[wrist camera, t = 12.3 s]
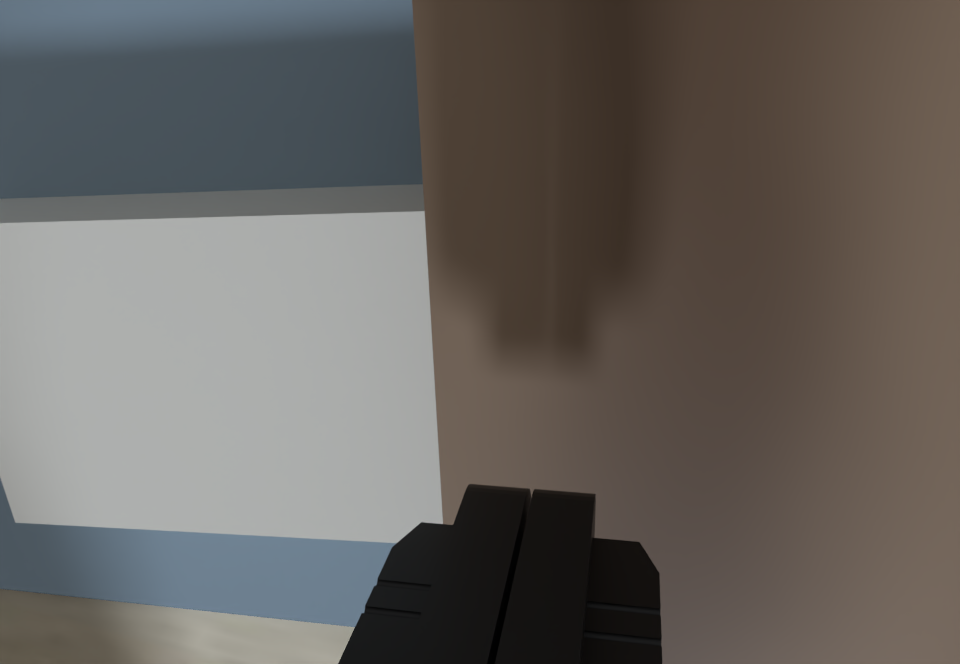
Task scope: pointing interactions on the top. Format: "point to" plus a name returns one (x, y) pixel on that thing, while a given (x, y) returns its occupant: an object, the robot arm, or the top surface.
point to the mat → (202, 168)
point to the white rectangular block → (220, 362)
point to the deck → (711, 301)
